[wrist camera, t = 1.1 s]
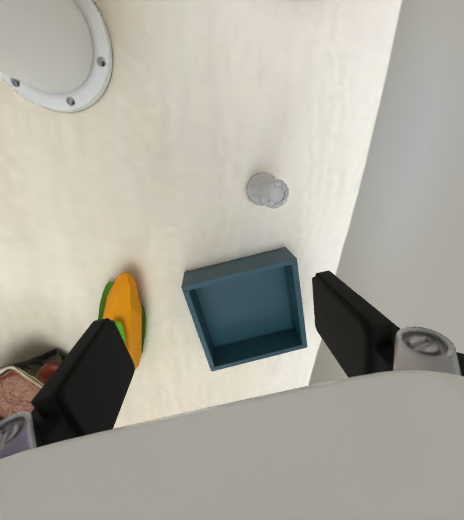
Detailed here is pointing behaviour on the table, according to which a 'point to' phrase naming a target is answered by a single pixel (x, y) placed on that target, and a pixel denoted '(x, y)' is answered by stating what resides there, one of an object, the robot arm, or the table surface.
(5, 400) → the rectangular footed planter
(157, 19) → the table surface
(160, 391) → the table surface
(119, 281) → the corn
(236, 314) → the bin
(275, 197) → the rook chess piece
